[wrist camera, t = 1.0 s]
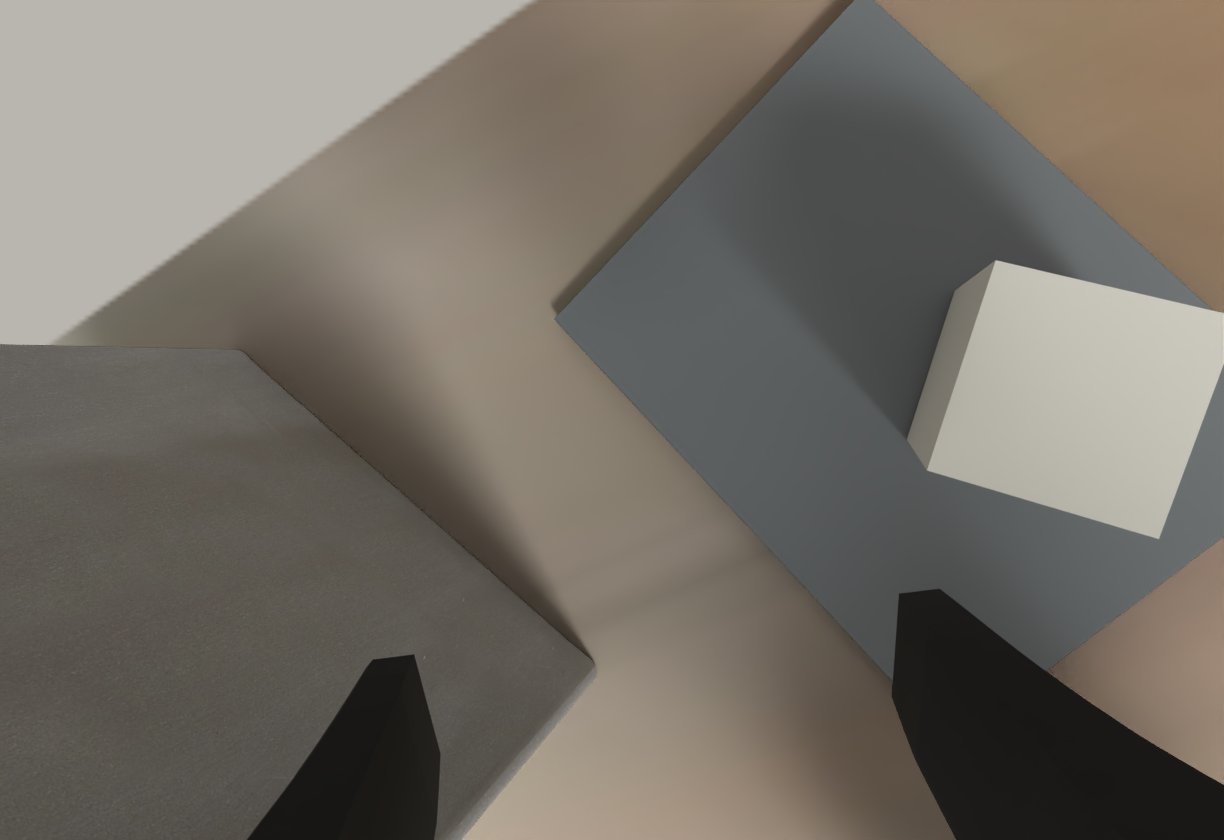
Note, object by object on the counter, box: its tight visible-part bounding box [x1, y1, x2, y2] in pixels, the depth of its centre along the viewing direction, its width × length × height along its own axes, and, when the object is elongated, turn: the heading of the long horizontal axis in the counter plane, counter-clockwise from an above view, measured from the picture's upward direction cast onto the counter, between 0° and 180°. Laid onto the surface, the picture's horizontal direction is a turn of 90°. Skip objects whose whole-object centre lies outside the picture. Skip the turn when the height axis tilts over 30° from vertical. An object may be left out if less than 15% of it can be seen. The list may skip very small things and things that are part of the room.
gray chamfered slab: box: [0, 344, 596, 840], centre depth 19 cm, size 16×8×19 cm, turn 53°
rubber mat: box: [554, 0, 1224, 682], centre depth 23 cm, size 16×12×1 cm
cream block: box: [906, 260, 1224, 539], centre depth 19 cm, size 4×4×7 cm
